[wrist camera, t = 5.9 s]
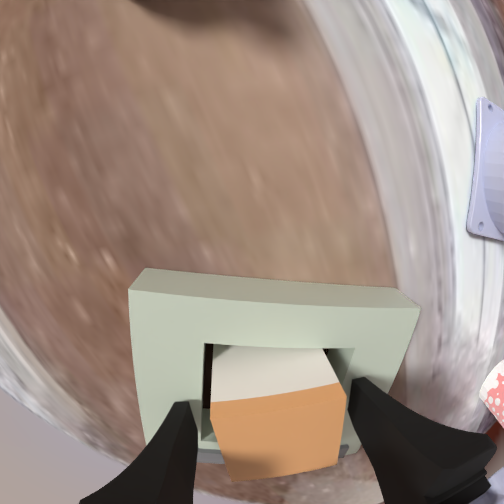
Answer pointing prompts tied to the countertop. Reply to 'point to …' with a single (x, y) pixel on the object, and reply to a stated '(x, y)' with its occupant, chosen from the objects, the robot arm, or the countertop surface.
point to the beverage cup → (494, 392)
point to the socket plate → (257, 336)
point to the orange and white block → (275, 410)
